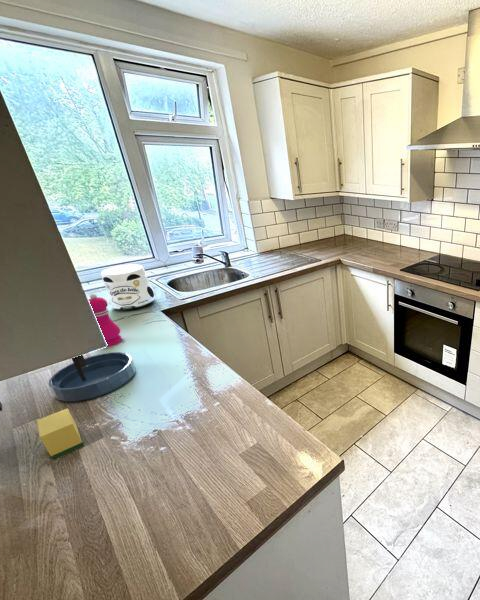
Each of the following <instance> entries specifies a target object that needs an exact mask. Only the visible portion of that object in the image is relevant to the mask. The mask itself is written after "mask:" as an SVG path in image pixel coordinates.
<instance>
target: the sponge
mask: <svg viewBox="0 0 480 600" xmlns="http://www.w3.org/2000/svg"><path fill="white" fill-rule="evenodd" d="M36 424H37V430H38V435H39V436H38V437H39V439H40V440H41V443H42V444H43V445H44V447H45V449H46V451H47V452H48V454H49V456H50V458H51V459H52V460H55V459H57V458H59V457H61V456H63V455H66V454H68V453H71V452H72V451H74V450H77V449H78V448H81V447H84V441H83V438H82V436H81V432H80V429H79V427H78V425H77V423H76V422H75V419H74V418H73V416H72V413H71V412H70V410H69V408H64V409H62V410H60V411H58V412H54V413H51V414H49V415H47V416H44V417H42V418H38V419H36Z"/></svg>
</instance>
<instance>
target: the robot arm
mask: <svg viewBox="0 0 480 600" xmlns="http://www.w3.org/2000/svg"><path fill="white" fill-rule="evenodd" d="M71 360H72V363H74V365H75V367H76V369H77V371H78V373H79V375H80V377H81V379H82V382H83V381H86V377H85V375H84V373H83V371H82V369H81V367H84V366H86V362H85V357H84V355H81V356H78V357H75V358H71ZM2 411H3V404H2V402H1V401H0V412H2Z"/></svg>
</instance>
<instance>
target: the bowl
mask: <svg viewBox="0 0 480 600" xmlns="http://www.w3.org/2000/svg"><path fill="white" fill-rule="evenodd" d="M84 359H85V362H86V366H84V367H81V369H82V371H83V373H84V375H85V377H86V381H83V382H82V379H81V377H80V375H79V373H78V371H77V369H76V367H75V365H74V362H72V363H70V364H68V365H66V366H65V367H64V366H63V367H62V368H61V369H59V370H57V371H56V372H55V373H54V374H53V375H52V376H51V377H50V378H49V380H48V386H49V388H50V390H51V392H52V395H54V398H55V399H57V400H58V401H64V402H81V401H86V400H91V399H96V398H99V397H101V396H104V395H106V394H109V393H111V392H113V391H115V390H117V389H119V388H121V387H122V386H124V385H125V384H126V383H127V382H129V381H130V380H131V379H132V378H133V376H134V375H135V373H136V366H135V364H134V360H133V358H132V356H131V354H129V353H126V352H120V351H117V352H116V351H114V352H104V353H100V354H95V355H92V356H88V357H84Z"/></svg>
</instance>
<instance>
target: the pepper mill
mask: <svg viewBox="0 0 480 600" xmlns="http://www.w3.org/2000/svg"><path fill="white" fill-rule="evenodd" d="M88 300H89V301H90V304H91V306H92V308H93V311H94V314H95V316H96V318H97V321H98V323H99V325H100V328H101V330H102V333H103V335H104V337H105V340H106V342H107V344H108V346H107V347H112V346H115V345H118V344H120V343H121V342H122V341H123V338H122V336H121V334H120V333H121V329H120V327H119V326H118V324H117V323H115V322H114V321H113V319H112V318H111V317H110V316H109V312H110V311H109V308H108V305H109V302H108V300H106V299H105V298H104V297H99V296H97V294H95V293H91V294H89V299H88Z"/></svg>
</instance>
